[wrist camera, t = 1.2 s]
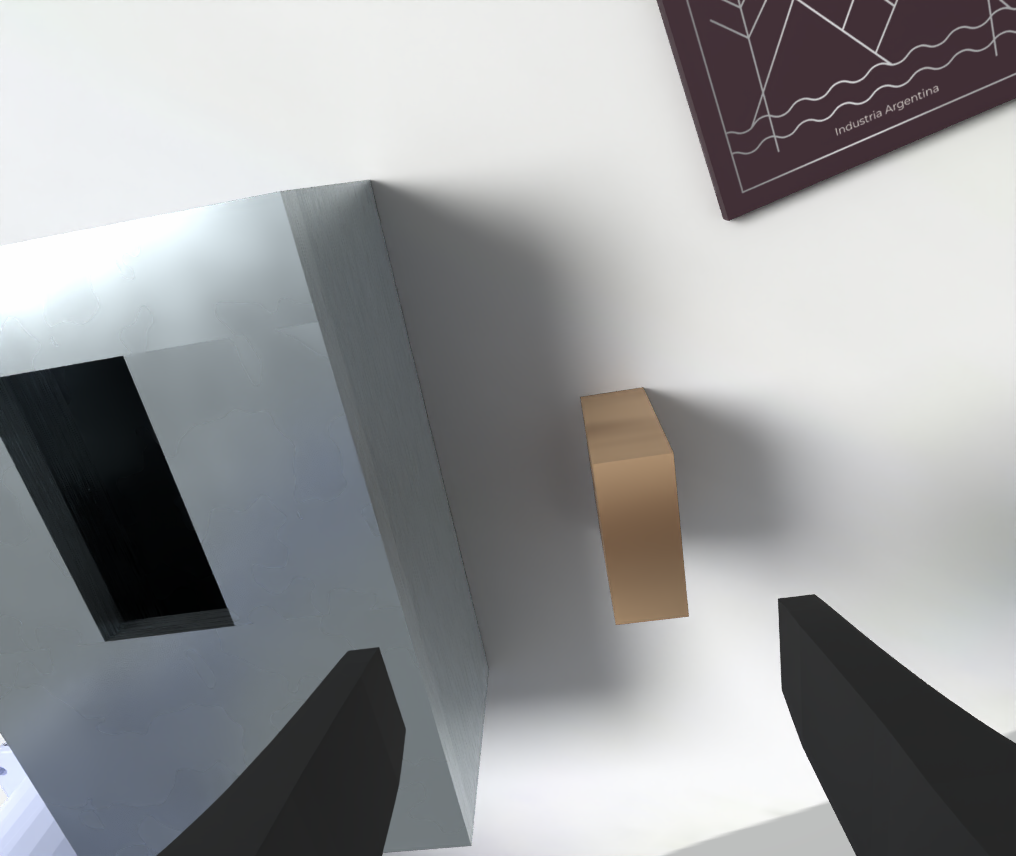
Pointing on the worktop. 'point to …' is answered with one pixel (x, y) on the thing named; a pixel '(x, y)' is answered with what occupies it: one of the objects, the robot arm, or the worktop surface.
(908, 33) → the chocolate bar
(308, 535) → the cash box
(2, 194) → the worktop surface
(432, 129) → the worktop surface
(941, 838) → the robot arm
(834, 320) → the worktop surface
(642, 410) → the tan rectangular slab
